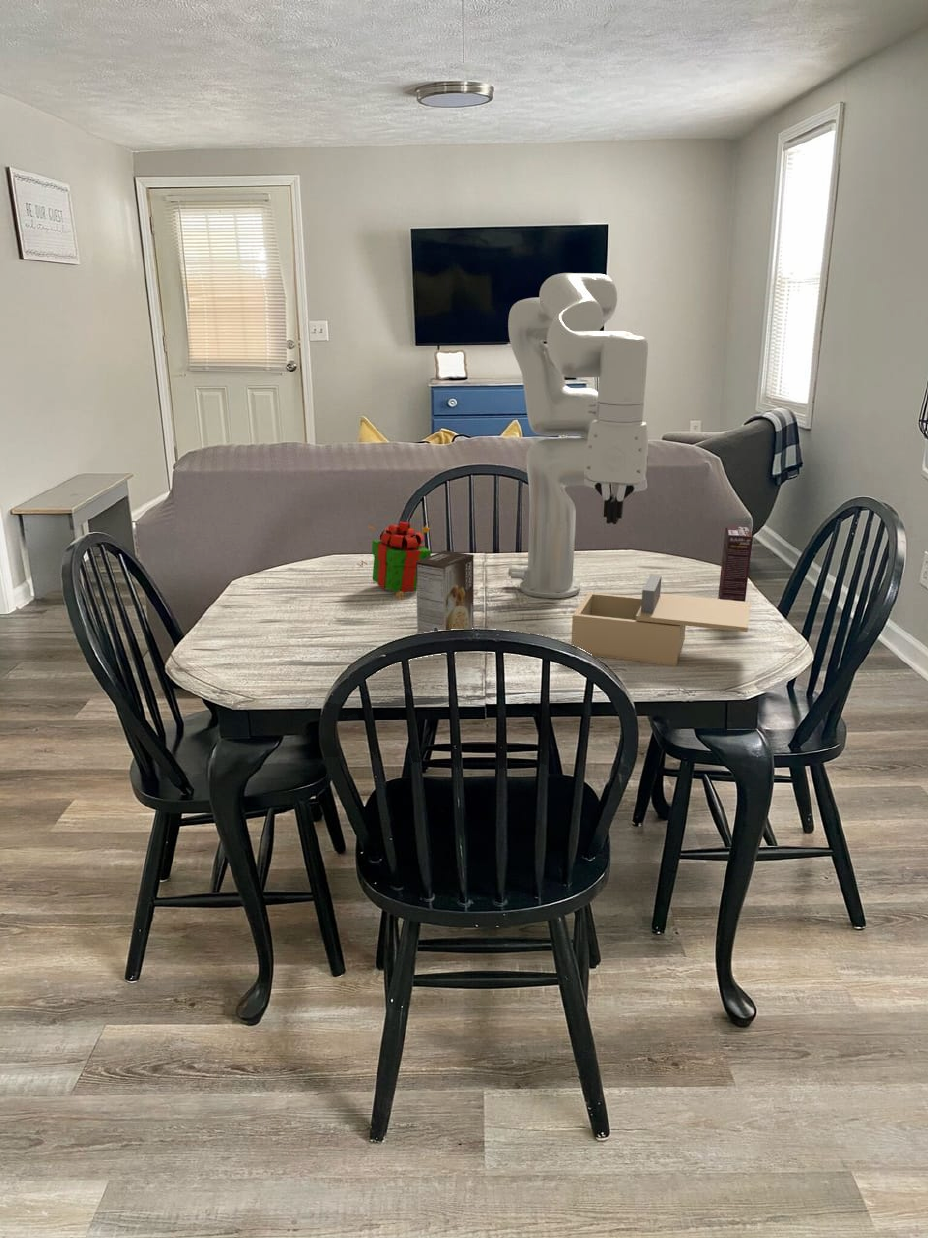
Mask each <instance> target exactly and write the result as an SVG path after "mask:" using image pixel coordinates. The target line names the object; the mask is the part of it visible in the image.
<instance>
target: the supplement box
mask: <svg viewBox="0 0 928 1238" xmlns="http://www.w3.org/2000/svg"><path fill="white" fill-rule="evenodd" d="M724 531H725V532H724V538H723V540H724V541H723V550H722V558H721V568H720V576H719V587H718V597H717V599H721V600H732V601H742V602H746V597H747V590H748V581H749V574H750V573H749V572H750V564H751V557H752V556H751V555H752V547H753V539H754V537H753V534H752V532H751V529H750V527H748V526H738V525H733V526H732V525H726V526H725V530H724Z"/></svg>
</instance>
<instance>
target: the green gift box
mask: <svg viewBox="0 0 928 1238" xmlns="http://www.w3.org/2000/svg"><path fill="white" fill-rule="evenodd" d="M367 528H369V532H370V531H372V529H373V533H374V532H375V527H372V526H370V525H368V526H367ZM421 530H422V532H420V531H415V529H414V528H413V527H411V523H410V522H404V521H399V523H398V525H395V524H390V525H389V526H387V527H386V528H385V529H384V530H383V531H382V532H381V533H380V535H379V539H378V540H377V539H375V540H374V539H373V540H372V544H371V545H372V547H371V554H372V555H373V556H374V557H373V568H372V569H373V570H372V580H373V582H375V583H376V584H377V585H378V586H379V587H381V588H383V589H387V590H388V591H390V592H395V591H398V592H397V593H396V597H398V598H399V599H403V598H404V595H405V594H404V592H413V591H414V590H417V589H416V562H417V561H419V560H422V559H424V558H427V557H429V556H432V550H431V549H429V548H426V546H425V545H423V542H424V535H423V534H425V533H426V534H429V531H430V530H431V528H430V527H428V525H425V526H424V527H422V528H421ZM363 563H364V564H365V565H368V562H367V563H366V561H364V560H361V564H360V563H357V565H358V566H359V567H361V568H363V566H364V565H363ZM401 594H402V596H401Z"/></svg>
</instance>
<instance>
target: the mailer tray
mask: <svg viewBox="0 0 928 1238" xmlns="http://www.w3.org/2000/svg"><path fill="white" fill-rule="evenodd" d="M641 603H642V596H641V597H639V596H631V595H630V596H629V595H621V594H620V595H619V594H610V593H609V594H608V593H602V592H601V593H600V592H590V591H589V592H587V593H586V595H585V597H584V598H583V599H582V601H581V603H580V604H579V606H578V607H577V608H576V610H575V611H574V612H573V614H572V621H571V622H572V623H571V624H572V625H571V643H570V646H571V645H574V646H576V647H579V648H581V649H583V650H585V651H586V652H588V653H590V654H592V655H594V656H593V657H596V658H597V657H598V658H605V659H613V658H616V659H615V660H621V659H623V660H624V661H630V662H632V661H633V662H638V661H639V662H640V663H646V664H647V663H649V664H655V663H657V665H663V664H664V666H673V667H677V665H678V662H679V658H680V654H681V651H682V648H683V645H684V642H685V638H686V628H687V626H683V625H674V624H665V623H655V622H646V621H637V620H636V615H637V613H638V611H639V609H640V607H641ZM623 660H622V661H623Z"/></svg>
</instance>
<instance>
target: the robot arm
mask: <svg viewBox="0 0 928 1238" xmlns="http://www.w3.org/2000/svg"><path fill="white" fill-rule="evenodd" d="M539 289H540V290H539V297H529V298H524V299H521V300H518V301H517V302H515V303H514V304H513V305H512V306H511V308H510V311H509V314H508V322H507V324H508V325H507V327H508V329H507V330H508V338H509V342H510V346H511V349H512V352H513V354H514V357H515V359H516V362H517V364H518V367H519V369H520V371H521V377H522V383H523V384H522V385H523V393H524V401H525V406H526V415H527V420H528V421H527V422H528V424H529V427H530V429H531V431H532V432H533V434H535V435H539V436H549V437H550V436H551V437H553V436H562V438H547V439H542V440H538V441H536V442H534V443H533V444H531V445H530V447H529V448H528V449H527V451H526V457H525V458H526V459H525V464H526V473H527V481H528V482H527V483H528V491H529V492H528V493H529V496H528V497H529V510H528V511H529V514H528V518H529V519H528V548H527V550H528V552H527V566H524V567H523V568H520V567H515V566H509V567H508V571H507V572H508V573H507V575H508V576H509V577H510V578H511V579H517V580H518V579H519V580H521V582H520V583H519V590H520V591H521V592H522V593H524V594H526V595H528V596H531V597H536V598H540V599H541V598H542V599H562V598H568V597H573V596H576V595H577V594H579V592H580V590H581V586H580V584H579V583H578V581H575V580H574V563H575V562H574V560H575V558H574V557H575V543H576V542H575V541H576V540H575V538H576V520H577V519H576V513H577V510H576V506H575V503H574V501H573V499H572V498H571V497H570V496H569V494H568V493H567V491H566V488H567V487H576V486H577V487H579V486H585V487H589V488H591V489H595V490H596V491H597V492H598V493H599V494H600V496H601V497H602V499H603V500H604V503H603V505H604V506H603V518H606V522H605V523H606V524H613V525H617V523H618V522H619V520H621V519H623V511H624V500H625V498H627V497H628V496H630V495H631V494H632V493H633V492H635V493H636V492H637V493H638V492H642V491H646V489H647V488H648V482H647V475H648V465H649V464H648V463H649V437H648V425H647V422H646V421H643V420H644V407H645V406H644V405H645V395H646V394H645V393H646V381H647V368H648V358H649V357H648V354H649V343H648V340H647V339H646V338H645V337H644V336H641V335H634V334H633V333H631V332H629V331H623V330H622V331H621V330H620V331H619V330H613V331H608V330H601V329H602V328H603V327H604V326H605V325H606V323H608V321H609V320H610V319H611V318H612V316H613V315H614V313H615V311H616V308H617V304H618V303H617V302H618V291H617V288H616V285H615V282H614V281H613V280H612V278H610V276H608V275H606V274H603V273H589V272H587V273H586V272H585V273H584V272H583V273H582V272H581V273H580V272H578V273H577V272H576V273H575V272H574V273H573V272H563V273H557V274H554V275H551V276H550V277H548V278H547V279H545V281H544V282H543V283H542V284H541V286H540V288H539ZM544 342H546V345H545V343H544ZM565 377H568V378H573V379H574V378H576V379H577V378H580V379H581V378H582V379H583V378H598V390H596V389H594V388H591V387H569V386H568V385H567V384H566V380H565ZM563 436H579V437H580V438H579V437H577V438H569V437H568V438H565V437H564V438H563ZM613 484H614V485H618V488H617V493H616V495H615V496H614V493H613V488H612V487H613V486H612V485H613Z"/></svg>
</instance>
